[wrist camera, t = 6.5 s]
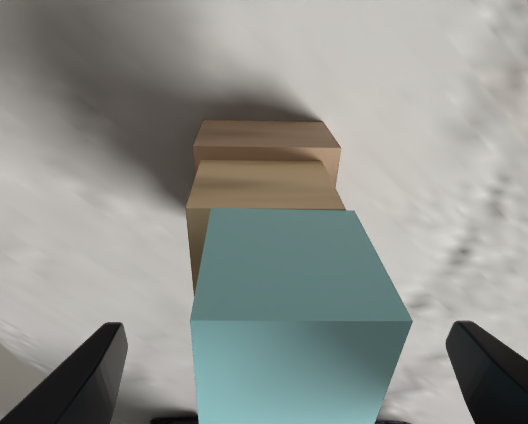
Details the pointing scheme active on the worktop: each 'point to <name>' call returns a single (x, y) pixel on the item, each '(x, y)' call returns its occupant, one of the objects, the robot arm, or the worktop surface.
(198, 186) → the tower top
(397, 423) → the storage jar
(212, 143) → the tower base
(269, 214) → the teal cube
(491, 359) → the robot arm
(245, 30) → the worktop surface
